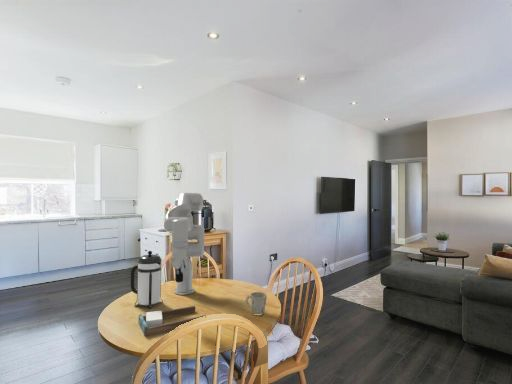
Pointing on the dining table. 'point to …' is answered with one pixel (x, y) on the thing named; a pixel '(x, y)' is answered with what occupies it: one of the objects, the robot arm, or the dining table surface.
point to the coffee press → (147, 279)
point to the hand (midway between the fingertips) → (179, 281)
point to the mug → (257, 302)
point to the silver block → (153, 318)
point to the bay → (167, 326)
